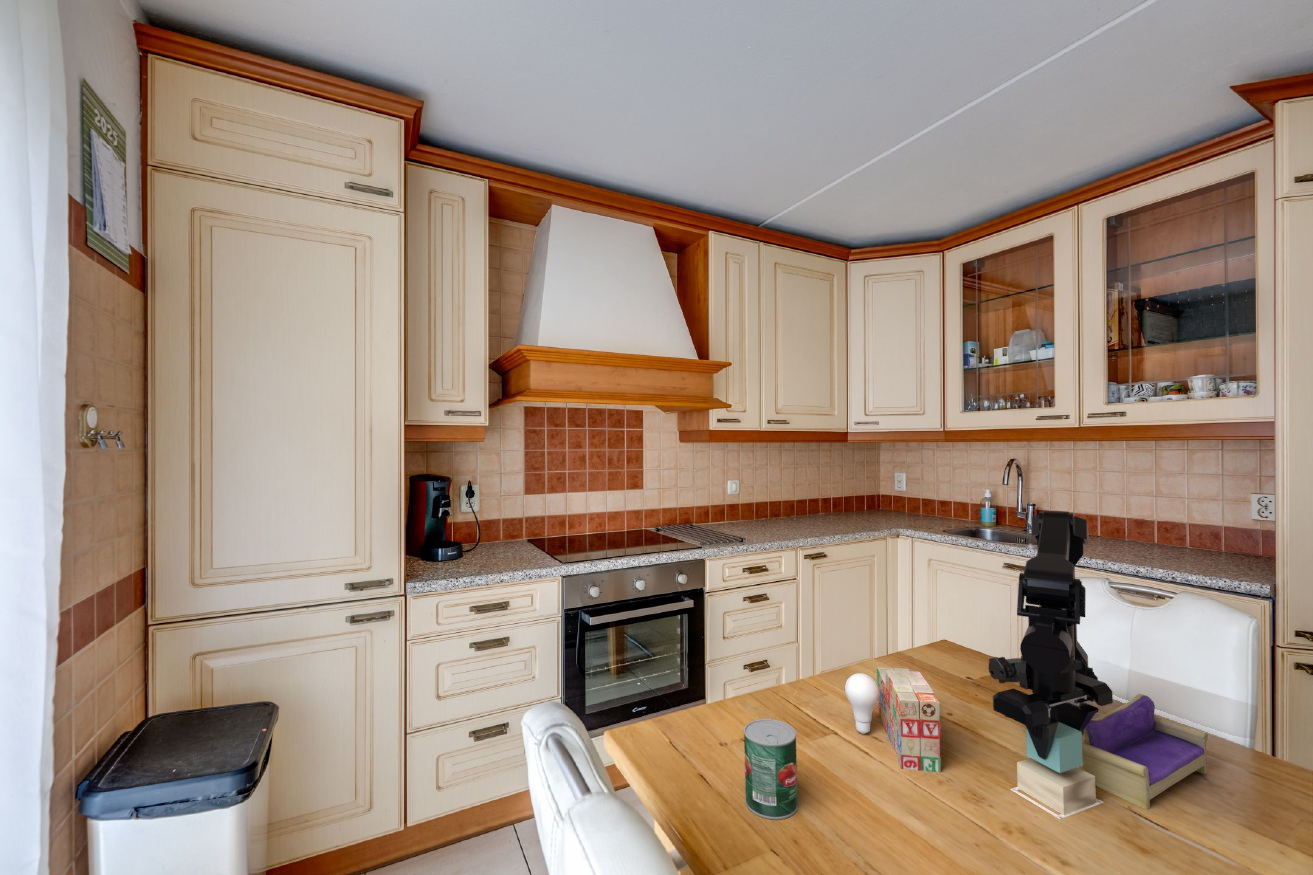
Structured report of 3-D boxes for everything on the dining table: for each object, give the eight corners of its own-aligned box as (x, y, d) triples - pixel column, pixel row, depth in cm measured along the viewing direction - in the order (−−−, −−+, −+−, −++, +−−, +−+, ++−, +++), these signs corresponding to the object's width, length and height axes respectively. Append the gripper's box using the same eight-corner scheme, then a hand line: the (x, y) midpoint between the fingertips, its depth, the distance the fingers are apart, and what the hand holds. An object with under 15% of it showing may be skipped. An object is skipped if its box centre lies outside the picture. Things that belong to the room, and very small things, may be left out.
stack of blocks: (877, 712, 115) (876, 651, 115) (910, 714, 114) (909, 653, 114) (901, 773, 94) (899, 698, 94) (942, 776, 93) (940, 701, 93)
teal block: (1049, 748, 90) (1048, 716, 90) (1082, 765, 85) (1081, 731, 85) (1027, 755, 88) (1026, 723, 88) (1059, 773, 83) (1058, 738, 83)
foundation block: (1048, 777, 91) (1047, 752, 91) (1095, 803, 84) (1095, 775, 84) (1017, 788, 88) (1016, 762, 88) (1063, 815, 82) (1063, 787, 82)
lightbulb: (845, 738, 105) (843, 678, 105) (847, 722, 111) (845, 666, 111) (880, 743, 103) (878, 683, 103) (880, 727, 109) (879, 670, 109)
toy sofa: (1146, 816, 82) (1143, 745, 82) (1079, 784, 90) (1077, 720, 90) (1211, 774, 92) (1209, 711, 92) (1145, 749, 100) (1143, 690, 100)
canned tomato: (742, 787, 91) (740, 718, 91) (792, 787, 91) (790, 718, 91) (749, 820, 83) (747, 744, 83) (803, 820, 83) (801, 744, 83)
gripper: (1041, 626, 98) (1044, 718, 97) (960, 643, 91) (963, 741, 91) (1113, 648, 87) (1116, 750, 87) (1028, 668, 80) (1031, 779, 80)
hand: (1054, 753), depth 87 cm, fingers closed on teal block, 5 cm apart
